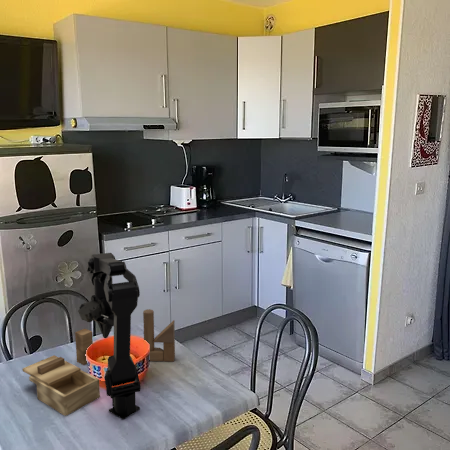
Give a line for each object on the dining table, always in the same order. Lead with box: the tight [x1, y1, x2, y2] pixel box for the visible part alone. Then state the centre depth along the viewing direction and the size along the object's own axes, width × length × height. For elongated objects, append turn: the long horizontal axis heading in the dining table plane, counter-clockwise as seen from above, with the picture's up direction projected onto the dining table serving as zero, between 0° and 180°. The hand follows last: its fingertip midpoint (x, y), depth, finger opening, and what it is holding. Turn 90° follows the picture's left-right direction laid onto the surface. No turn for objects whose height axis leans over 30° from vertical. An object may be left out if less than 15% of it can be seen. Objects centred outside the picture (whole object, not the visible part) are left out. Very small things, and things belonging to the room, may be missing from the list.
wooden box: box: [28, 369, 101, 417], centre depth 143 cm, size 26×12×6 cm, turn 53°
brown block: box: [74, 328, 94, 366], centre depth 161 cm, size 4×4×11 cm
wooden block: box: [142, 308, 176, 363], centre depth 162 cm, size 4×11×18 cm, turn 89°
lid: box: [21, 354, 82, 386], centre depth 143 cm, size 14×11×3 cm
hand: (105, 337), depth 151 cm, fingers closed
